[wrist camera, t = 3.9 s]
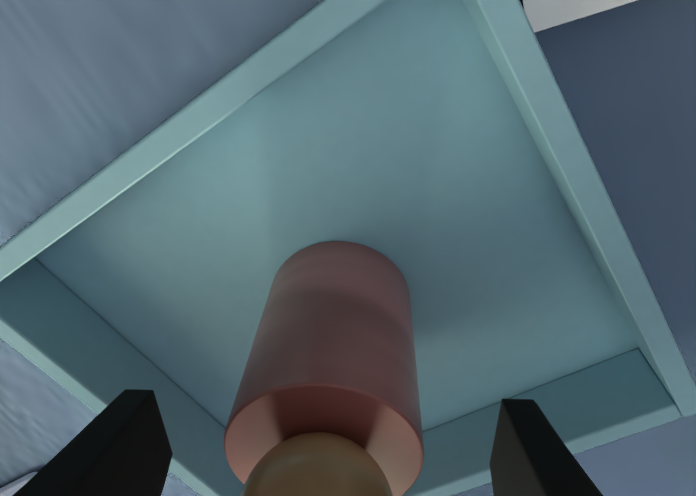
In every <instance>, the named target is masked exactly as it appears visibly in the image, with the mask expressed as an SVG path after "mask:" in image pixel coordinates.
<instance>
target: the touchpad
mask: <svg viewBox="0 0 696 496" xmlns="http://www.w3.org/2000/svg"><path fill="white" fill-rule="evenodd" d="M634 1H637V0H523V7H524V11H525V14H526V16H527V18H528V20H529V22H530V25H531V27H532V29H533V31H534V33H535V32H538V31H541V30H544V29H548V28H551V27H554V26H557V25H560V24H564V23H567V22H570V21H573V20H576V19H580V18H583V17H586V16H589V15H592V14H595V13H599V12H602V11H605V10H608V9H611V8H615V7H618V6H621V5H624V4H627V3H631V2H634Z"/></svg>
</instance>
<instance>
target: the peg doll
mask: <svg viewBox="0 0 696 496" xmlns="http://www.w3.org/2000/svg"><path fill="white" fill-rule="evenodd" d="M224 451H225V456H226V459H227V461H228V464H229V466H230V467H231V469H232V471H233V472H234V474H235V475H236V476H237V477H238V479H239V480H240V481H241V482H242V483H243V484H244V487H243V489H242V492H241V495H240V496H402V495H403V494H404V493H405V492H406V491H407V490H409V489H410V488H411V486H412V485H413V484H414V483H415V481H416V480H417V478H418V476H419V474H420V472H421V469H422V466H423V463H424V444H423V433H422V422H421V411H420V400H419V389H418V378H417V367H416V356H415V345H414V334H413V324H412V313H411V302H410V292H409V288H408V284H407V282H406V280H405V278H404V276H403V274H402V273H401V271H400V270H399V269H398V268H397V266H396V265H395V264H394V263H393V262H392V261H391V260H389V259H388V258H387V257H386V256H384V255H383V254H381V253H380V252H378V251H376V250H374V249H372V248H370V247H367V246H364V245H361V244H357V243H353V242H346V241H330V242H322V243H318V244H314V245H311V246H308V247H306V248H304V249H302V250H300V251H298V252H296V253H295V254H293V255H292V256H291V257H289V258H288V259H287V260H286V261H285V262H284V263H283V264H282V266H281V267H280V268H279V270H278V271H277V273H276V275H275V277H274V280H273V282H272V285H271V289H270V292H269V295H268V298H267V301H266V304H265V307H264V310H263V313H262V317H261V320H260V323H259V326H258V329H257V332H256V335H255V338H254V341H253V345H252V348H251V351H250V354H249V357H248V360H247V363H246V366H245V369H244V373H243V376H242V379H241V382H240V385H239V388H238V391H237V394H236V397H235V401H234V404H233V407H232V410H231V413H230V416H229V419H228V422H227V425H226V429H225V433H224Z"/></svg>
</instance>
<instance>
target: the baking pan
mask: <svg viewBox="0 0 696 496" xmlns="http://www.w3.org/2000/svg"><path fill="white" fill-rule="evenodd" d="M330 241H346V242H353V243H357V244H361V245H364V246H367V247H370V248H372V249H374V250H376V251H378V252H380V253H381V254H383V255H384V256H386V257H387V258H388V259H389V260H391V261H392V262H393V263H394V264H395V265H396V266H397V268H398V269H399V270H400V271H401V273H402V274H403V276H404V278H405V280H406V282H407V284H408V288H409V292H410V302H411V313H412V324H413V334H414V345H415V356H416V367H417V378H418V389H419V400H420V411H421V422H422V433H423V444H424V463H423V466H422V469H421V472H420V474H419V476H418V478H417V480H416V481H415V483H414V484H413V485H412V486H411V488H410V489H409V490H407V491H406V492H405V493H404V494H403V495H402V496H452V495H455V494H458V493H461V492H464V491H467V490H470V489H473V488H476V487H479V486H482V485H485V484H487V483H490V482H492V479H491V472H490V465H489V464H490V459H491V453H492V448H493V443H494V437H495V432H496V427H497V422H498V416H499V411H500V406H501V400H502V399H533V400H534V401H535V402H536V403H537V404H538V406H539V407H540V409H541V410H542V412H543V413H544V415H545V416H546V418H547V419H548V421H549V422H550V424H551V425H552V427H553V428H554V429H555V431H556V432H557V434H558V435H559V437H560V438H561V440H562V441H563V442H564V444H565V445H566V447H567V448H568V449H569V451H570V452H571V454H572V455H574V454H577V453H580V452H583V451H586V450H588V449H591V448H594V447H597V446H600V445H603V444H606V443H609V442H612V441H615V440H618V439H621V438H624V437H627V436H630V435H633V434H636V433H639V432H642V431H645V430H648V429H651V428H654V427H657V426H660V425H663V424H666V423H669V422H672V421H675V420H678V419H680V418H681V415H682V416H683V417H688V416H691V415H694V414H696V384H695V382H694V380H693V378H692V376H691V373H690V371H689V369H688V367H687V365H686V363H685V360H684V358H683V356H682V354H681V352H680V349H679V347H678V345H677V343H676V341H675V339H674V336H673V334H672V332H671V330H670V328H669V325H668V323H667V321H666V319H665V317H664V315H663V312H662V310H661V308H660V306H659V304H658V301H657V299H656V297H655V295H654V293H653V291H652V288H651V286H650V284H649V282H648V280H647V277H646V275H645V273H644V271H643V269H642V267H641V264H640V262H639V260H638V258H637V256H636V254H635V251H634V249H633V247H632V245H631V243H630V240H629V238H628V236H627V234H626V232H625V230H624V227H623V225H622V223H621V221H620V219H619V216H618V214H617V212H616V210H615V208H614V206H613V203H612V201H611V199H610V197H609V195H608V192H607V190H606V188H605V186H604V184H603V182H602V179H601V177H600V175H599V173H598V171H597V168H596V166H595V164H594V162H593V160H592V158H591V155H590V153H589V151H588V149H587V147H586V144H585V142H584V140H583V138H582V136H581V134H580V131H579V129H578V127H577V125H576V123H575V120H574V118H573V116H572V114H571V112H570V110H569V107H568V105H567V103H566V101H565V99H564V97H563V94H562V92H561V90H560V88H559V86H558V83H557V81H556V79H555V77H554V75H553V73H552V70H551V68H550V66H549V64H548V62H547V59H546V57H545V55H544V53H543V51H542V49H541V46H540V44H539V42H538V40H537V38H536V35H535V33H534V31H533V29H532V27H531V25H530V22H529V20H528V18H527V16H526V14H525V11H524V9H523V7H522V5H521V3H520V1H519V0H322V1H321V2H320V3H318V4H317V5H316V6H315V7H313V8H312V9H311V10H309V11H308V12H307V13H305V14H304V15H303V16H301V17H300V18H299V19H297V20H296V21H295V22H294V23H292V24H291V25H290V26H288V27H287V28H286V29H284V30H283V31H282V32H280V33H279V34H278V35H277V36H275V37H274V38H273V39H271V40H270V41H269V42H267V43H266V44H265V45H263V46H262V47H261V48H260V49H258V50H257V51H256V52H254V53H253V54H252V55H250V56H249V57H248V58H246V59H245V60H244V61H242V62H241V63H240V64H239V65H237V66H236V67H235V68H233V69H232V70H231V71H229V72H228V73H227V74H225V75H224V76H223V77H222V78H220V79H219V80H218V81H216V82H215V83H214V84H212V85H211V86H210V87H208V88H207V89H206V90H204V91H203V92H202V93H201V94H199V95H198V96H197V97H195V98H194V99H193V100H191V101H190V102H189V103H187V104H186V105H185V106H184V107H182V108H181V109H180V110H178V111H177V112H176V113H174V114H173V115H172V116H170V117H169V118H168V119H166V120H165V121H164V122H163V123H161V124H160V125H159V126H157V127H156V128H155V129H153V130H152V131H151V132H149V133H148V134H147V135H146V136H144V137H143V138H142V139H140V140H139V141H138V142H136V143H135V144H134V145H132V146H131V147H130V148H129V149H127V150H126V151H125V152H123V153H122V154H121V155H119V156H118V157H117V158H115V159H114V160H113V161H111V162H110V163H109V164H108V165H106V166H105V167H104V168H102V169H101V170H100V171H98V172H97V173H96V174H94V175H93V176H92V177H91V178H89V179H88V180H87V181H85V182H84V183H83V184H81V185H80V186H79V187H77V188H76V189H75V190H73V191H72V192H71V193H70V194H68V195H67V196H66V197H64V198H63V199H62V200H60V201H59V202H58V203H56V204H55V205H54V206H53V207H51V208H50V209H49V210H47V211H46V212H45V213H43V214H42V215H41V216H39V217H38V218H37V219H36V220H34V221H33V222H32V223H30V224H29V225H28V226H26V227H25V228H24V229H22V230H21V231H20V232H18V233H17V234H16V235H15V236H13V237H12V238H11V239H9V240H8V241H7V242H5V243H4V244H3V245H2V246H0V338H1V339H3V340H4V341H5V342H6V343H8V344H9V345H10V346H12V347H13V348H14V349H15V350H17V351H18V352H19V353H20V354H22V355H23V356H24V357H25V358H27V359H28V360H29V361H31V362H32V363H33V364H34V365H36V366H37V367H38V368H39V369H41V370H42V371H43V372H45V373H46V374H47V375H48V376H50V377H51V378H52V379H53V380H55V381H56V382H57V383H58V384H60V385H61V386H62V387H64V388H65V389H66V390H67V391H69V392H70V393H71V394H72V395H74V396H75V397H76V398H77V399H79V400H80V401H81V402H83V403H84V404H85V405H86V406H88V407H89V408H90V409H91V410H93V411H94V412H95V413H96V414H98V415H99V414H100V413H101V412H102V411H103V410H104V409H105V408H106V407H107V406H108V405H109V404H110V403H111V402H112V401H113V400H114V399H115V398H116V397H117V396H119V395H120V394H121V393H122V392H123V391H124V390H125V389H139V390H154V394H155V397H156V400H157V404H158V407H159V410H160V413H161V417H162V420H163V423H164V426H165V430H166V433H167V436H168V440H169V443H170V446H171V449H172V453H173V455H172V459H171V462H170V466H169V471H170V472H171V473H173V474H174V475H175V476H176V477H178V478H179V479H180V480H181V481H183V482H184V483H185V484H186V485H188V486H189V487H190V488H192V489H193V490H194V491H195V492H197V493H198V494H199V495H200V496H240V495H241V492H242V489H243V487H244V484H243V483H242V482H241V481H240V480H239V479H238V477H237V476H236V475H235V474H234V472H233V471H232V469H231V467H230V466H229V464H228V461H227V459H226V456H225V451H224V433H225V429H226V425H227V422H228V419H229V416H230V413H231V410H232V407H233V404H234V401H235V397H236V394H237V391H238V388H239V385H240V382H241V379H242V376H243V373H244V369H245V366H246V363H247V360H248V357H249V354H250V351H251V348H252V345H253V341H254V338H255V335H256V332H257V329H258V326H259V323H260V320H261V317H262V313H263V310H264V307H265V304H266V301H267V298H268V295H269V292H270V289H271V285H272V282H273V280H274V277H275V275H276V273H277V271H278V270H279V268H280V267H281V266H282V264H283V263H284V262H285V261H286V260H287V259H288V258H289V257H291V256H292V255H293V254H295V253H296V252H298V251H300V250H302V249H304V248H306V247H308V246H311V245H314V244H318V243H322V242H330Z"/></svg>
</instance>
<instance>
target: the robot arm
mask: <svg viewBox="0 0 696 496" xmlns="http://www.w3.org/2000/svg"><path fill="white" fill-rule="evenodd" d="M172 455H173V453H172V449H171V446H170V443H169V440H168V436H167V433H166V430H165V426H164V423H163V420H162V417H161V413H160V410H159V407H158V404H157V400H156V397H155V394H154V390H139V389H125V390H124V391H123V392H122V393H121V394H120V395H119V396H117V397H116V398H115V399H114V400H113V401H112V402H111V403H110V404H109V405H108V406H107V407H106V408H105V409H104V410H103V411H102V412H101V413H100V414H99V415H98V416H97V417H95V418H94V419H93V420H92V421H91V422H90V423H89V424H88V425H87V426H86V427H85V428H84V429H83V430H82V431H81V432H80V433H79V434H78V435H77V436H76V437H75V438H74V439H73V440H72V441H71V442H70V443H69V444H68V445H67V446H65V447H64V448H63V449H62V450H61V451H60V452H59V453H58V454H57V455H56V456H55V457H54V458H53V459H52V460H51V461H49V462H48V463H47V464H46V465H45V466H44V467H43V468H42V469H41V470H40V471H39V472H33V473H29V474H27V475H26V476H24V477H22V478H20V479H18V480H16V481H14V482H12V483H10V484H8V485H6V486H4V487H2V488H0V496H161V494H162V490H163V487H164V484H165V480H166V477H167V473H168V470H169V466H170V462H171V459H172ZM489 465H490V472H491V479H492V486H493V493H494V496H603V495H602V494H601V492H600V491H599V490H598V488H597V487H596V486H595V484H594V483H593V482H592V481H591V479H590V478H589V477H588V475H587V474H586V473H585V471H584V470H583V469H582V467H581V466H580V465H579V463H578V462H577V460H576V459H575V458H574V456H573V455H572V454H571V452H570V451H569V449H568V448H567V447H566V445H565V444H564V442H563V441H562V440H561V438H560V437H559V435H558V434H557V432H556V431H555V429H554V428H553V427H552V425H551V424H550V422H549V421H548V419H547V418H546V416H545V415H544V413H543V412H542V410H541V409H540V407H539V406H538V404H537V403H536V402H535V401H534V400H533V399H502V400H501V406H500V411H499V416H498V422H497V427H496V432H495V437H494V443H493V448H492V453H491V459H490V464H489Z"/></svg>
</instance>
